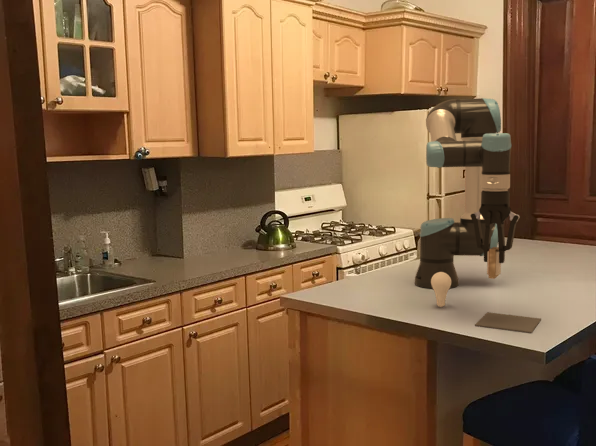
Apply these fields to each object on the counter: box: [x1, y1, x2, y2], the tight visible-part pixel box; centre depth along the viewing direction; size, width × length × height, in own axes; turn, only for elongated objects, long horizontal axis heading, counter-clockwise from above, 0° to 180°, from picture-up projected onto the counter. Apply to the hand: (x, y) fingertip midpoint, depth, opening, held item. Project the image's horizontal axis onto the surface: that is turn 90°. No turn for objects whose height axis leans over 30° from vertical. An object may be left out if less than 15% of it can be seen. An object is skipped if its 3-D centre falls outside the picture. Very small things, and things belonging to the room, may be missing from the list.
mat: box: [474, 311, 542, 334], centre depth 178 cm, size 15×14×1 cm
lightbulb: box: [431, 272, 451, 308], centre depth 196 cm, size 6×6×11 cm
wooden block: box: [488, 246, 500, 280], centre depth 177 cm, size 2×5×8 cm, turn 150°
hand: (493, 273), depth 178 cm, fingers closed on wooden block, 2 cm apart
